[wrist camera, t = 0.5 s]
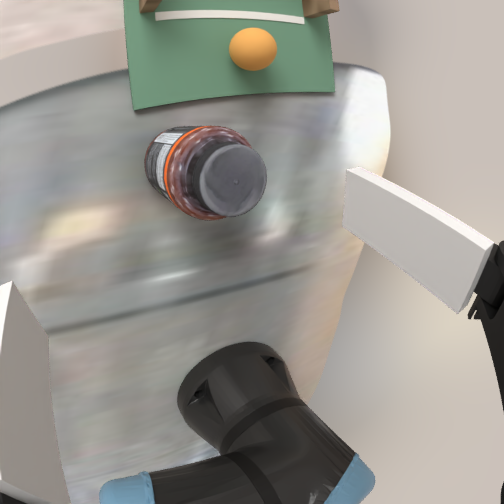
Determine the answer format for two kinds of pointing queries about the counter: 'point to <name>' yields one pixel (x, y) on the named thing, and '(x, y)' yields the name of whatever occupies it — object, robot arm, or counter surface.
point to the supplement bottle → (206, 171)
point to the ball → (252, 49)
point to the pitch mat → (222, 50)
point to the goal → (314, 5)
